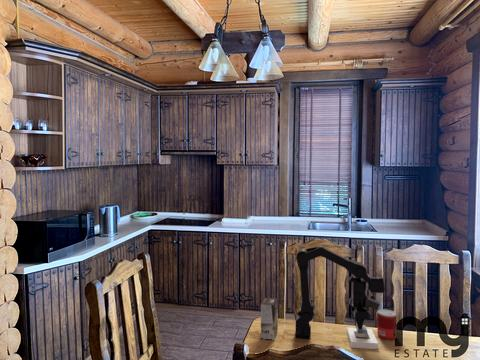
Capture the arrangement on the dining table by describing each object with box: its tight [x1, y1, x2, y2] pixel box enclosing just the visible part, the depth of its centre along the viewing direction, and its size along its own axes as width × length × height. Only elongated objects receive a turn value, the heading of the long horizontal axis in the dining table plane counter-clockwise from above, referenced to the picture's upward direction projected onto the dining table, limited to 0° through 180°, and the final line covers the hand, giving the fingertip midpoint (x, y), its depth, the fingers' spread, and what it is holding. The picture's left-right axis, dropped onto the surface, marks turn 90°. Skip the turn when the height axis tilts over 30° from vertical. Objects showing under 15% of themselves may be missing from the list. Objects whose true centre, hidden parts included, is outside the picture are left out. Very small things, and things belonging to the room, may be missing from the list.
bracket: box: [355, 321, 368, 334], centre depth 156 cm, size 4×5×7 cm
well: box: [346, 327, 379, 350], centre depth 156 cm, size 11×14×2 cm
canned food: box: [376, 308, 397, 341], centre depth 160 cm, size 8×8×11 cm
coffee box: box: [260, 297, 279, 341], centre depth 162 cm, size 9×6×16 cm
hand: (359, 326), depth 156 cm, fingers closed on bracket, 5 cm apart
